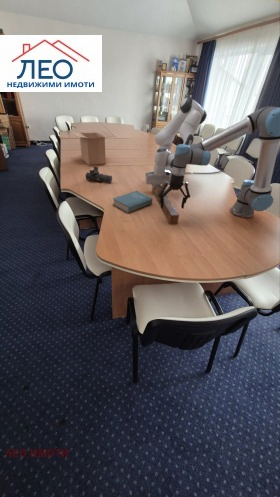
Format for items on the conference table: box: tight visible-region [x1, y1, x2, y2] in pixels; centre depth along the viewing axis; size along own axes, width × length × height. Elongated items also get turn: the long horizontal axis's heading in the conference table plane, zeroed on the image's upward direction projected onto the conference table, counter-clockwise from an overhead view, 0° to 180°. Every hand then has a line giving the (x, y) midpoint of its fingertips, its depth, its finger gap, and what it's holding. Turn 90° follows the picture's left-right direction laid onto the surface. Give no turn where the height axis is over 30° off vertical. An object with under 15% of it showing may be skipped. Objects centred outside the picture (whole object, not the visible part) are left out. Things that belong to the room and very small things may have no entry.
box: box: [70, 129, 114, 166], centre depth 229 cm, size 44×36×27 cm
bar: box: [151, 184, 180, 225], centre depth 159 cm, size 56×5×6 cm, turn 9°
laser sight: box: [85, 166, 113, 184], centre depth 187 cm, size 10×22×10 cm, turn 78°
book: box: [112, 190, 153, 214], centre depth 155 cm, size 23×16×5 cm
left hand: (157, 189), depth 176 cm, fingers closed on bar, 5 cm apart
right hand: (171, 207), depth 139 cm, fingers open, 13 cm apart
